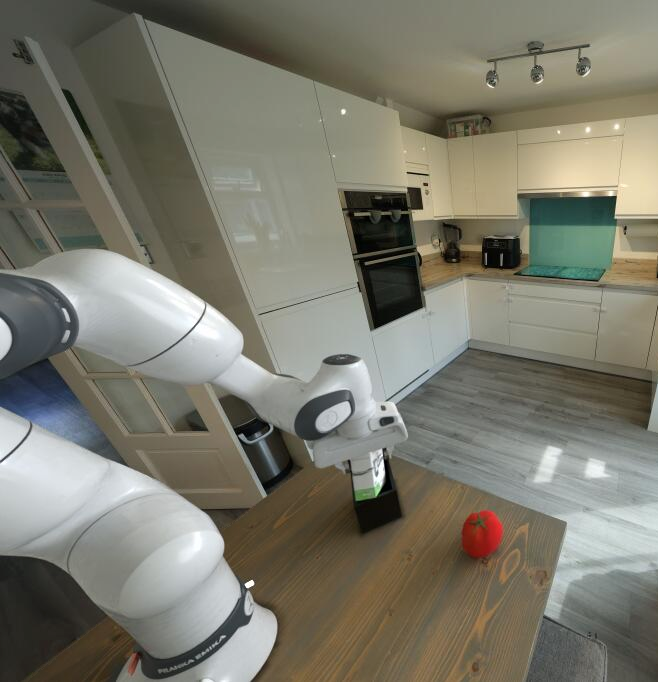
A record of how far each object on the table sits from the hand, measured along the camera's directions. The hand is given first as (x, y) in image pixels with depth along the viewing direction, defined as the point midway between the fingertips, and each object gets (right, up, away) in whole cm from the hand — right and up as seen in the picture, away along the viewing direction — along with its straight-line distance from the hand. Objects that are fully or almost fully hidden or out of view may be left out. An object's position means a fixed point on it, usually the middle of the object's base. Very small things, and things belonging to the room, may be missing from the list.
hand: (368, 464), depth 76 cm
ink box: (0, -7, +1) cm, 7 cm away
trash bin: (0, -14, +7) cm, 16 cm away
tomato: (+28, -18, -2) cm, 34 cm away
